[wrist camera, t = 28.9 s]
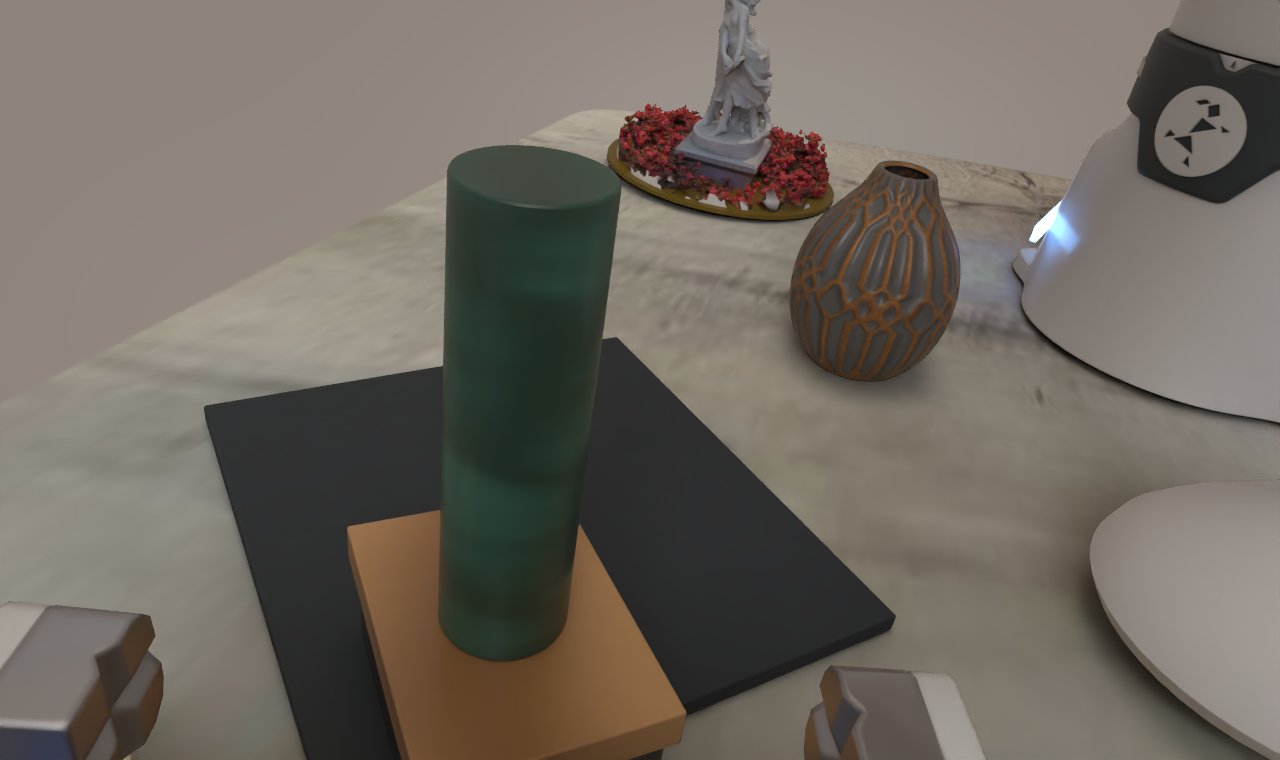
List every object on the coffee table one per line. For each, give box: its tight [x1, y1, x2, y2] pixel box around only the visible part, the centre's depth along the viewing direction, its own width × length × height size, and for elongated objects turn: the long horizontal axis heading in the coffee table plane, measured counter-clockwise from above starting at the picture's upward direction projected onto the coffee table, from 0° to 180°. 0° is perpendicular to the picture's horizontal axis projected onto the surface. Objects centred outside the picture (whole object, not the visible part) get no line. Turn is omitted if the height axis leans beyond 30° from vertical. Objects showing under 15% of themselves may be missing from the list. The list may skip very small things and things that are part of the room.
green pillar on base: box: [347, 145, 686, 760], centre depth 18 cm, size 5×7×14 cm
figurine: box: [607, 0, 834, 220], centre depth 56 cm, size 15×15×14 cm
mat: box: [204, 337, 896, 760], centre depth 28 cm, size 16×17×1 cm
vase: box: [790, 161, 960, 381], centre depth 38 cm, size 7×7×9 cm
